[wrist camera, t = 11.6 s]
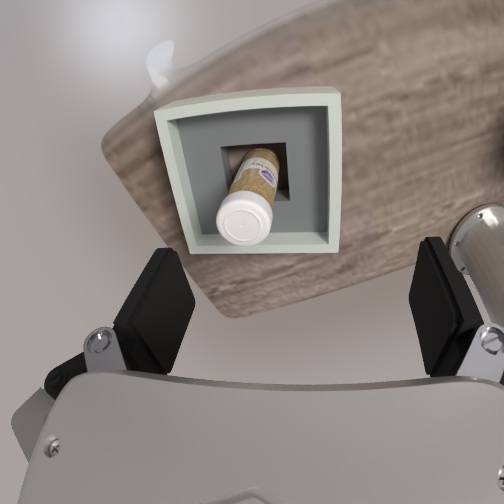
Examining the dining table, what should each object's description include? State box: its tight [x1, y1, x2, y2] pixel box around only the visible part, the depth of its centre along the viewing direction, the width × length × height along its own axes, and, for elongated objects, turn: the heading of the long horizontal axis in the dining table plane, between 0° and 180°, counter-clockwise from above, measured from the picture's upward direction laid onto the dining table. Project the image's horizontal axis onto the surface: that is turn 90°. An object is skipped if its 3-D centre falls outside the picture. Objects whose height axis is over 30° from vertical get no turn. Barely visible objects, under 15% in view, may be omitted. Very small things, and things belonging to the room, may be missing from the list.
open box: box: [154, 87, 342, 254], centre depth 33 cm, size 18×18×6 cm
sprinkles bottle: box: [216, 148, 280, 247], centre depth 30 cm, size 5×5×13 cm
